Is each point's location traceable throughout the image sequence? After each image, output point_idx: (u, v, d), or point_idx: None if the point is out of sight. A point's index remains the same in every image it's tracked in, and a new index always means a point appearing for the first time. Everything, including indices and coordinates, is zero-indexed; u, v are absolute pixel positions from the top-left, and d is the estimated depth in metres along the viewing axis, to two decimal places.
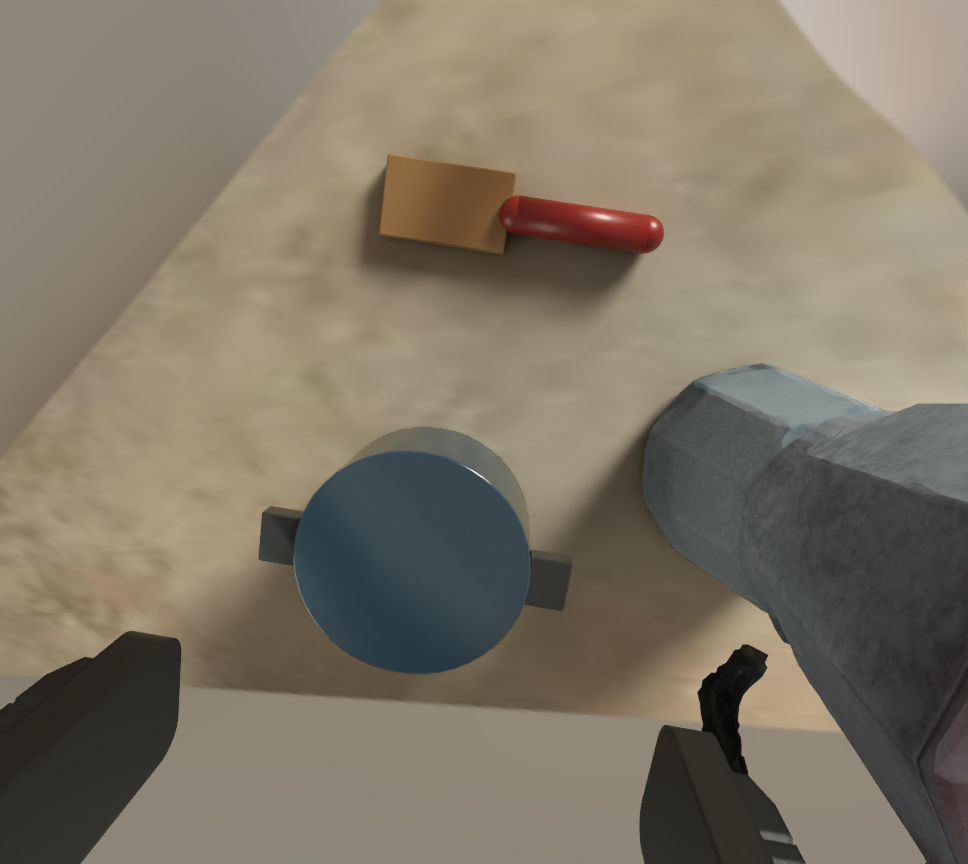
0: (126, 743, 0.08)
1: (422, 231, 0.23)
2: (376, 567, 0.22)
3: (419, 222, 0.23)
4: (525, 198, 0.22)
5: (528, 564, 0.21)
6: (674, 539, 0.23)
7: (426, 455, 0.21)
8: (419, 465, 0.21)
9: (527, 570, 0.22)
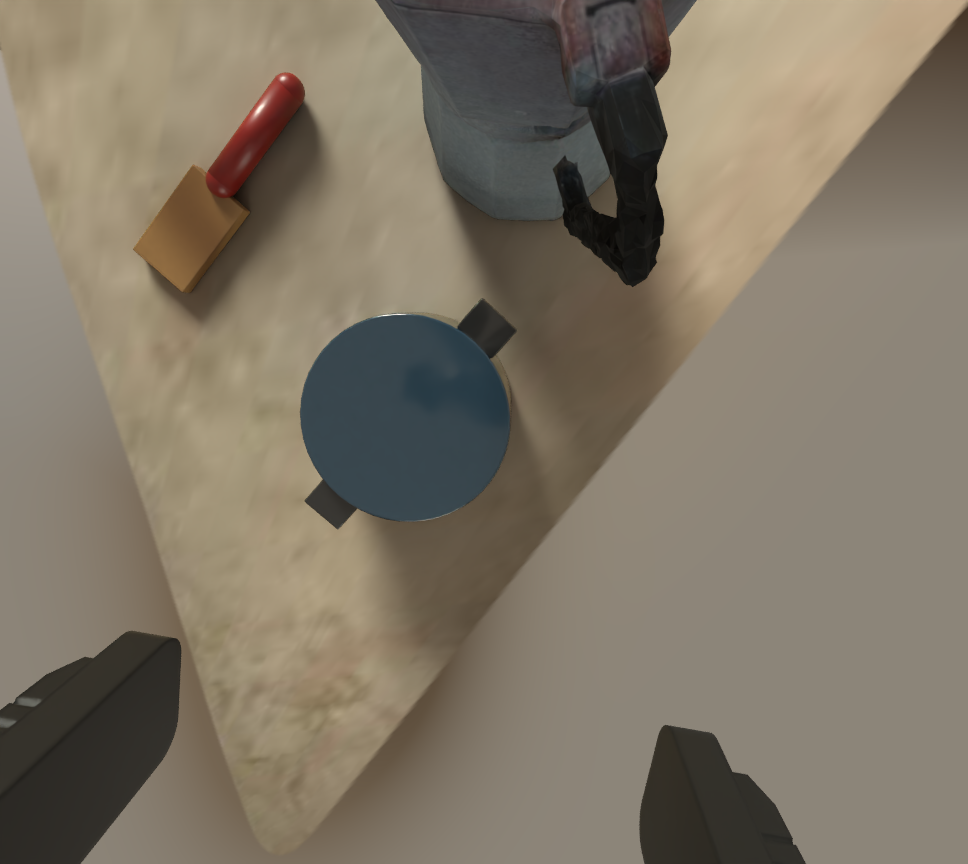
0: (126, 743, 0.08)
1: (197, 259, 0.27)
2: (388, 446, 0.25)
3: (189, 257, 0.27)
4: None
5: (454, 330, 0.24)
6: (532, 209, 0.25)
7: (324, 350, 0.24)
8: (329, 361, 0.24)
9: (459, 334, 0.24)
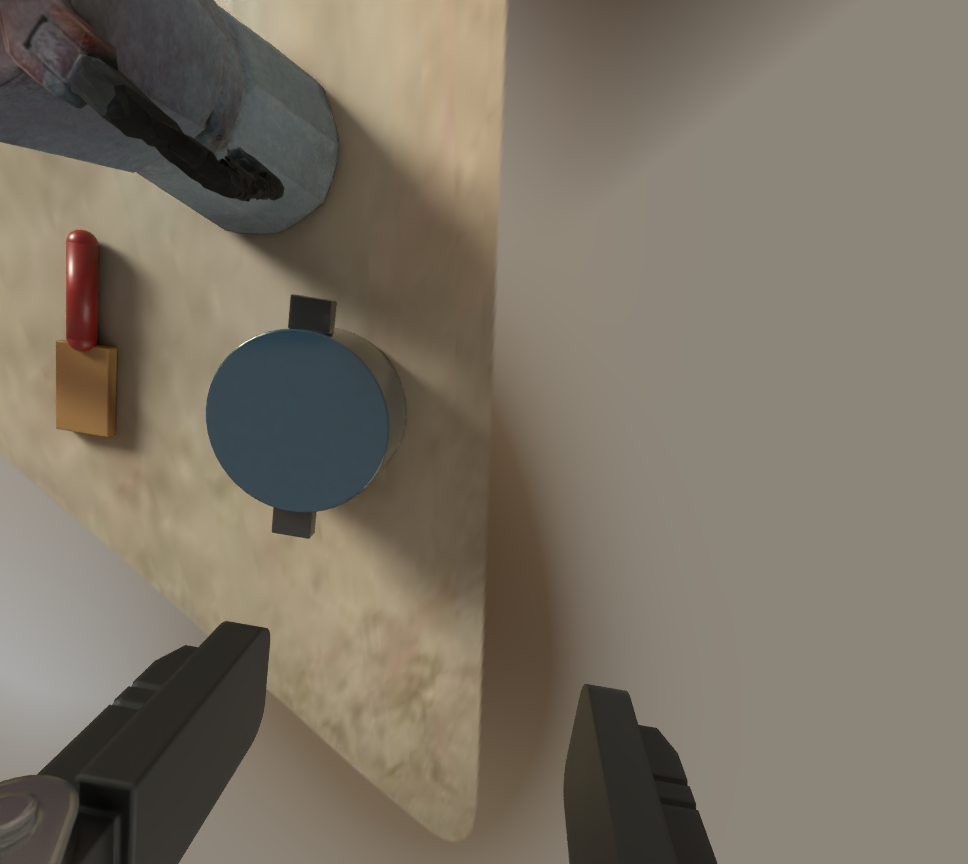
0: (230, 724, 0.09)
1: (101, 406, 0.32)
2: (298, 449, 0.28)
3: (96, 408, 0.32)
4: (66, 333, 0.31)
5: (284, 330, 0.27)
6: (293, 205, 0.28)
7: (207, 408, 0.28)
8: (215, 414, 0.28)
9: (290, 331, 0.27)
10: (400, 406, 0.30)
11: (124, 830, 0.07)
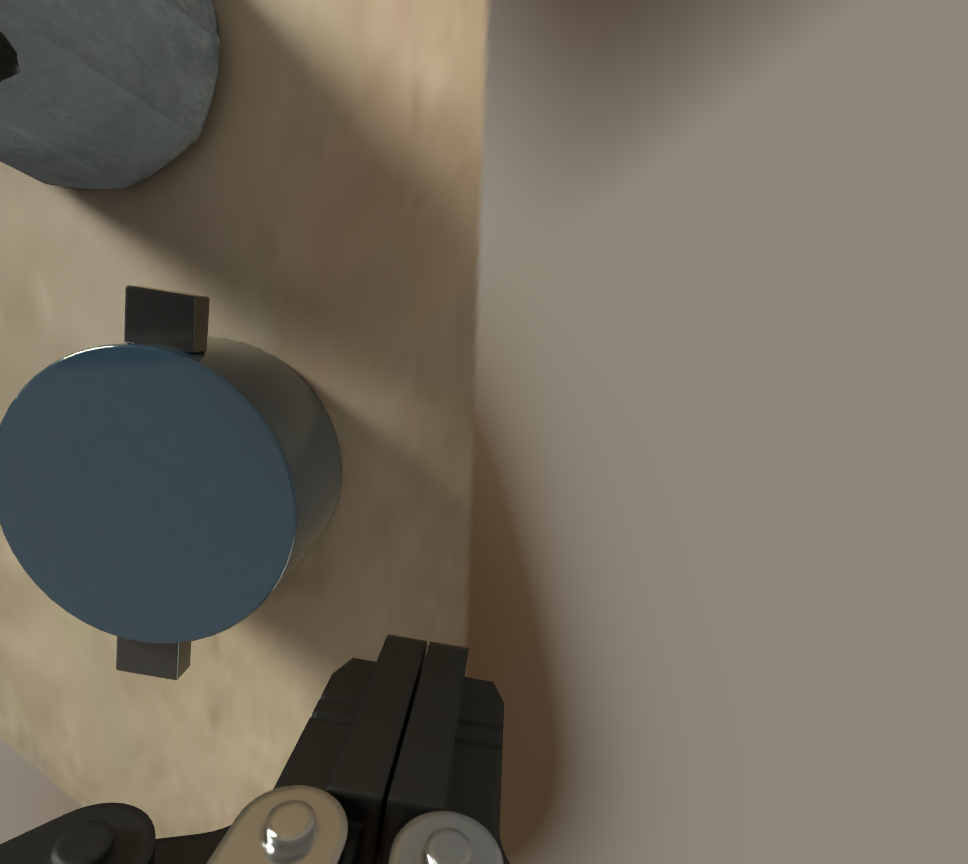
0: None
1: None
2: (147, 544, 0.17)
3: None
4: None
5: (113, 347, 0.16)
6: (139, 137, 0.17)
7: None
8: (7, 485, 0.17)
9: (124, 348, 0.16)
10: (327, 464, 0.19)
11: (368, 839, 0.07)
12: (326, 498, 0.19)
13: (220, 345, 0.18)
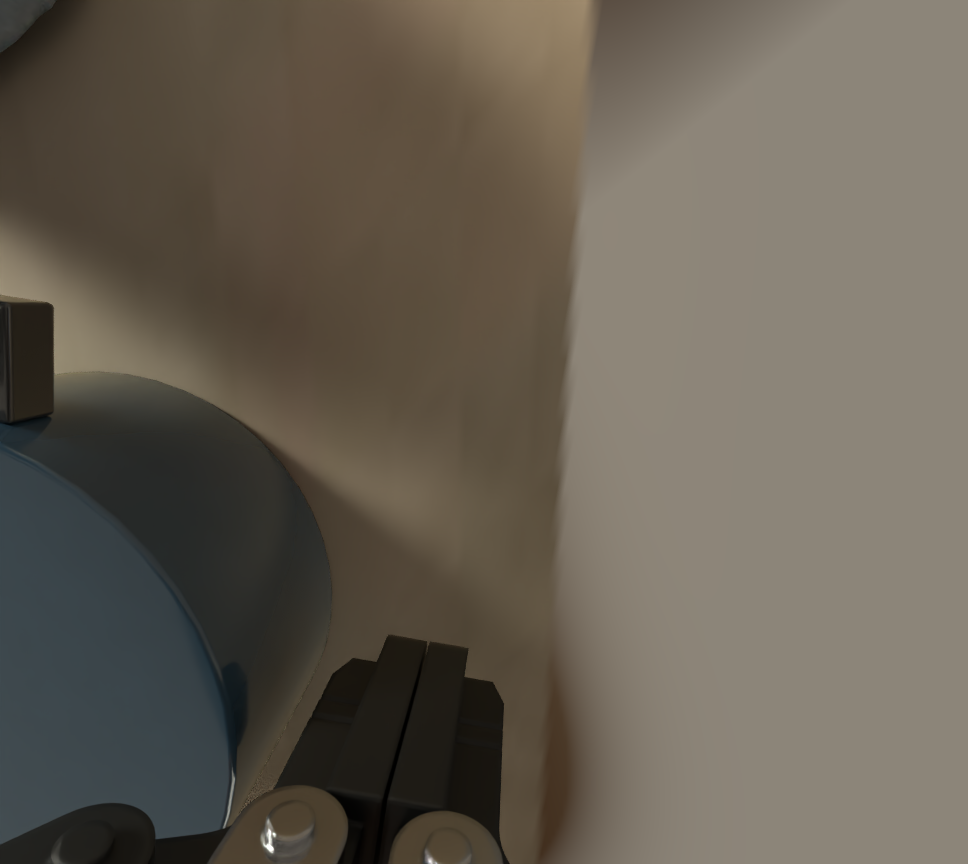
0: None
1: None
2: None
3: None
4: None
5: None
6: None
7: None
8: None
9: None
10: (304, 604, 0.11)
11: (368, 839, 0.07)
12: (303, 664, 0.11)
13: (102, 392, 0.10)
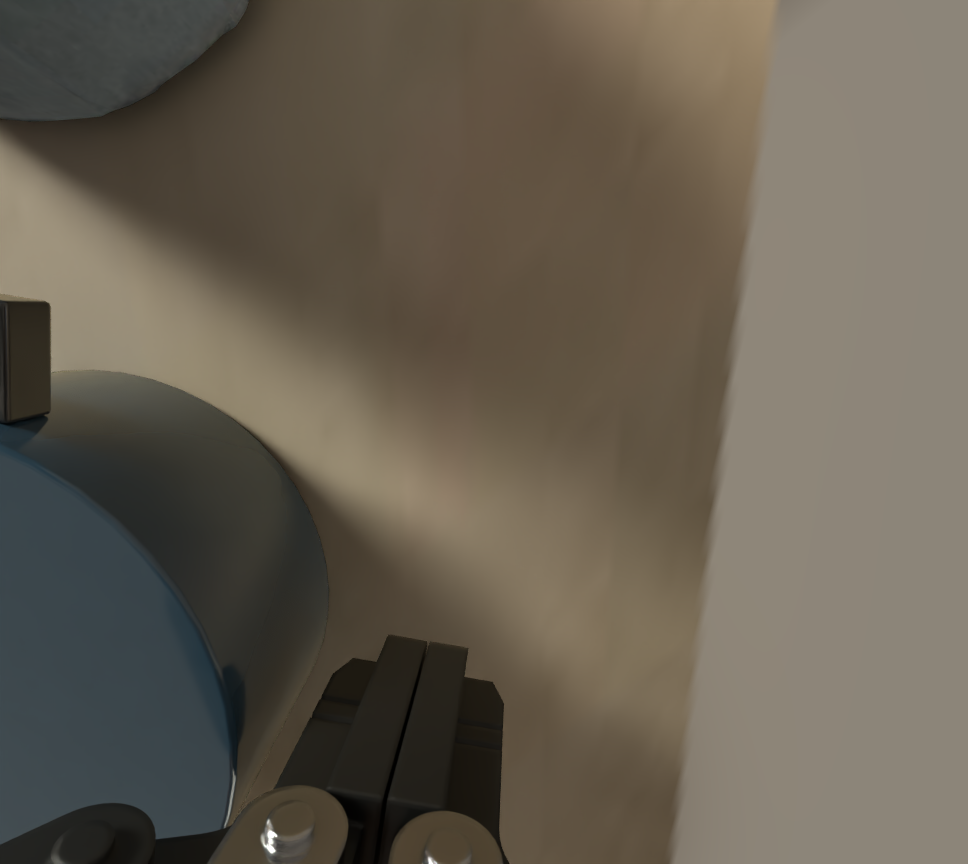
0: None
1: None
2: None
3: None
4: None
5: None
6: (126, 0, 0.08)
7: None
8: None
9: None
10: (302, 603, 0.11)
11: (368, 839, 0.07)
12: (301, 663, 0.11)
13: (98, 391, 0.10)
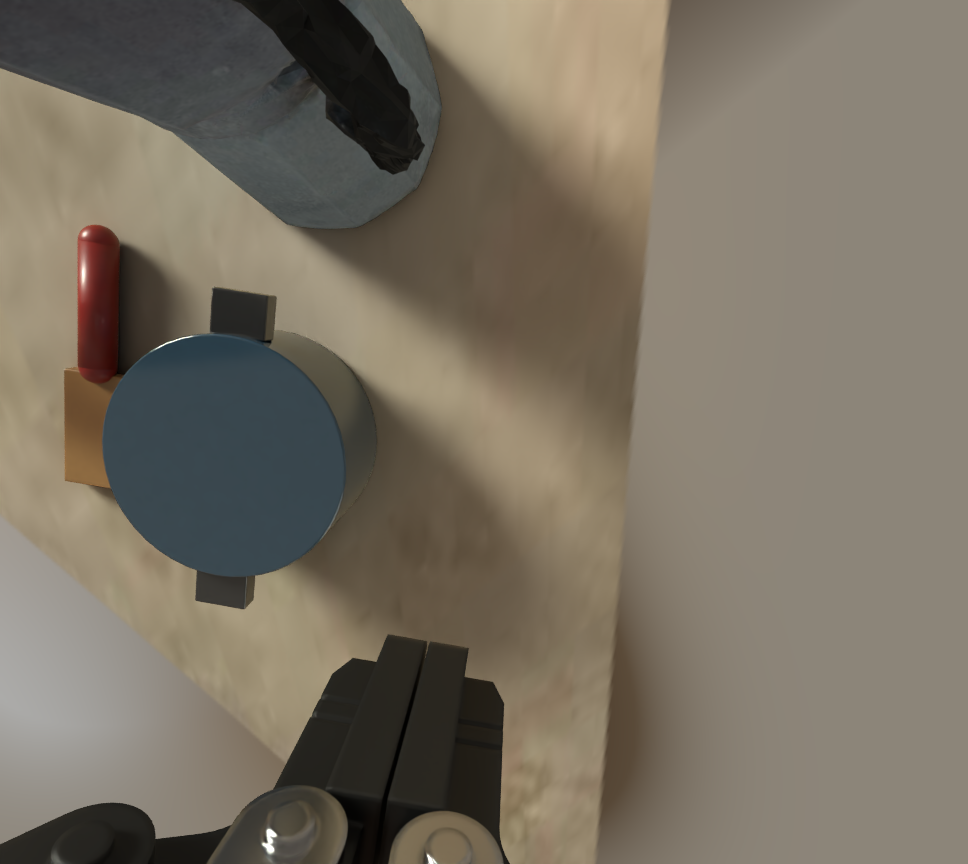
0: None
1: None
2: (226, 495, 0.21)
3: None
4: None
5: (203, 336, 0.20)
6: (382, 189, 0.21)
7: (103, 440, 0.21)
8: (114, 447, 0.21)
9: (211, 337, 0.20)
10: (366, 434, 0.23)
11: (368, 839, 0.07)
12: (365, 462, 0.23)
13: (280, 335, 0.23)
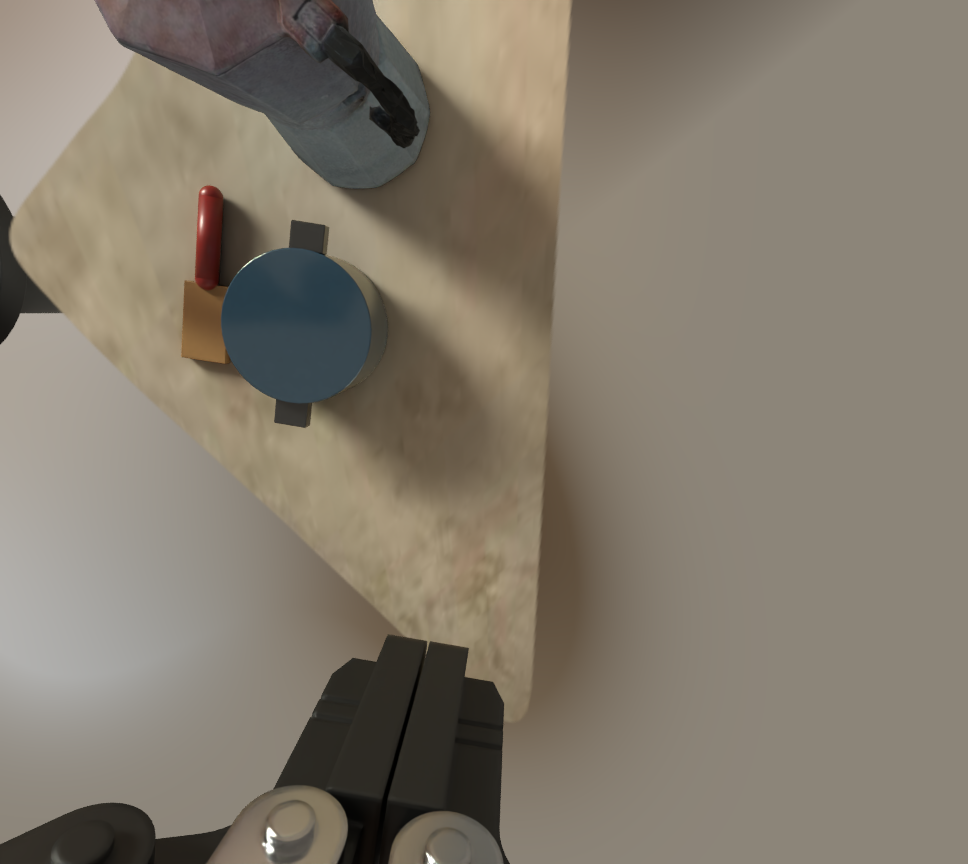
0: None
1: (221, 337, 0.38)
2: (297, 350, 0.34)
3: (216, 339, 0.38)
4: (195, 273, 0.37)
5: (286, 249, 0.33)
6: (393, 162, 0.34)
7: (221, 315, 0.34)
8: (228, 319, 0.34)
9: (291, 249, 0.33)
10: (382, 320, 0.37)
11: (367, 839, 0.07)
12: (381, 338, 0.37)
13: (328, 255, 0.36)
